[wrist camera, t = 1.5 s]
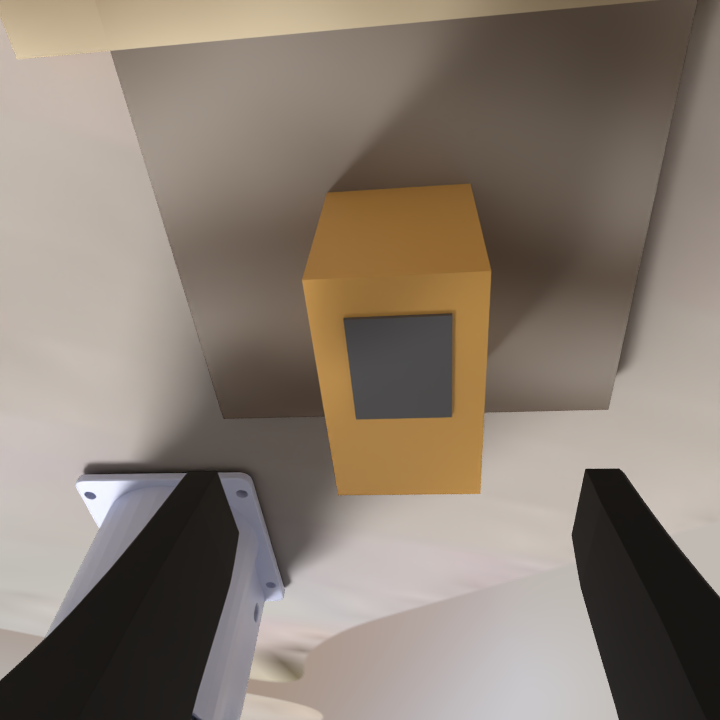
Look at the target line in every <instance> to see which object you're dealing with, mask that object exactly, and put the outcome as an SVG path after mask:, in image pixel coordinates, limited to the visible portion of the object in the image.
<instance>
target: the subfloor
mask: <svg viewBox="0 0 720 720" xmlns="http://www.w3.org/2000/svg"><path fill="white" fill-rule="evenodd" d="M697 1H698V0H0V17H1V20H2V22H3V25H4V27H5V30H6V32H7V35H8V38H9V40H10V43H11V45H12V48H13V50H14V53H15V55H16V58H17V59H27V58H38V57H49V56H60V55H70V54H81V53H92V52H103V51H111V55H112V58H113V61H114V64H115V68H116V71H117V74H118V77H119V81H120V84H121V87H122V90H123V94H124V97H125V100H126V103H127V107H128V110H129V113H130V116H131V120H132V123H133V126H134V129H135V133H136V136H137V139H138V142H139V146H140V149H141V152H142V155H143V159H144V162H145V165H146V168H147V172H148V175H149V178H150V181H151V185H152V188H153V191H154V194H155V198H156V201H157V204H158V207H159V211H160V214H161V217H162V220H163V224H164V227H165V230H166V233H167V237H168V240H169V243H170V246H171V250H172V253H173V256H174V259H175V263H176V266H177V269H178V272H179V276H180V279H181V282H182V285H183V289H184V292H185V295H186V298H187V302H188V305H189V308H190V311H191V314H192V318H193V321H194V324H195V327H196V331H197V334H198V337H199V340H200V344H201V347H202V350H203V353H204V357H205V360H206V363H207V366H208V370H209V373H210V376H211V379H212V383H213V386H214V389H215V392H216V396H217V399H218V402H219V405H220V409H221V412H222V415H223V418H224V419H234V418H276V417H318V416H325V414H324V408H323V402H322V396H321V390H320V384H319V378H318V372H317V366H316V360H315V354H314V348H313V343H312V337H311V331H310V325H309V319H308V313H307V307H306V301H305V295H304V289H303V283H302V278H303V275H304V271H305V268H306V264H307V261H308V257H309V254H310V250H311V247H312V243H313V240H314V236H315V233H316V229H317V226H318V222H319V219H320V215H321V212H322V208H323V205H324V201H325V198H326V194H327V193H328V192H344V191H360V190H376V189H391V188H407V187H423V186H438V185H454V184H471V188H472V192H473V196H474V201H475V205H476V209H477V213H478V217H479V221H480V226H481V230H482V234H483V238H484V242H485V246H486V251H487V255H488V259H489V263H490V267H491V288H490V308H489V328H488V348H487V368H486V388H485V408H484V413H485V412H526V411H568V410H608V409H609V405H610V400H611V395H612V391H613V386H614V382H615V377H616V373H617V368H618V363H619V359H620V354H621V350H622V345H623V340H624V336H625V331H626V327H627V322H628V318H629V313H630V308H631V304H632V299H633V295H634V290H635V286H636V281H637V276H638V272H639V267H640V263H641V258H642V253H643V249H644V244H645V240H646V235H647V231H648V226H649V221H650V217H651V212H652V208H653V203H654V198H655V194H656V189H657V185H658V180H659V176H660V171H661V166H662V162H663V157H664V153H665V148H666V143H667V139H668V134H669V130H670V125H671V121H672V116H673V111H674V107H675V102H676V98H677V93H678V88H679V84H680V79H681V75H682V70H683V66H684V61H685V56H686V52H687V47H688V43H689V38H690V33H691V29H692V24H693V20H694V15H695V11H696V6H697Z"/></svg>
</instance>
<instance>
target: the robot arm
mask: <svg viewBox="0 0 720 720" xmlns="http://www.w3.org/2000/svg"><path fill="white" fill-rule="evenodd" d="M75 485H76V488H77V490H78V492H79V493H80V495H81V497H82V499H83V501H84V502H85V504H86V506H87V508H88V509H89V511H90V513H91V515H92V516H93V518H94V520H95V522H96V524H97V525H98V527H99V530H98V532H97V534H96V536H95V538H94V540H93V542H92V544H91V546H90V548H89V550H88V552H87V554H86V556H85V558H84V560H83V562H82V564H81V566H80V568H79V570H78V572H77V574H76V576H75V578H74V580H73V582H72V584H71V586H70V588H69V590H68V592H67V594H66V596H65V598H64V600H63V602H62V604H61V606H60V608H59V610H58V612H57V614H56V616H55V618H54V620H53V622H52V624H51V626H50V628H49V630H48V632H47V634H46V636H45V638H44V640H43V641H42V642H41V643H40V644H39V645H38V646H37V647H36V648H35V649H34V650H33V651H32V652H31V653H30V654H29V655H28V656H27V657H26V658H24V659H23V660H22V661H21V662H20V663H19V664H18V665H17V666H16V667H15V668H14V669H13V670H11V671H10V672H9V673H8V674H7V675H6V676H5V677H4V678H3V679H1V680H0V720H239V719H240V716H241V713H242V709H243V704H244V699H245V694H246V689H247V684H248V680H249V675H250V670H251V665H252V660H253V655H254V650H255V646H256V641H257V636H258V631H259V626H260V621H261V616H262V612H263V607H264V602H265V601H279V600H281V599H283V598H284V592H285V589H284V586H283V583H282V579H281V576H280V572H279V569H278V566H277V562H276V559H275V555H274V552H273V549H272V545H271V542H270V538H269V535H268V531H267V528H266V525H265V521H264V518H263V514H262V511H261V508H260V504H259V501H258V497H257V494H256V491H255V487H254V484H253V480H252V478H251V477H250V476H249V475H247V474H245V473H241V472H226V473H218V472H217V471H193V472H188V473H155V474H86V475H81V476H80V477H79V478H78V480H77V482H76V484H75ZM242 490H244V491H242ZM572 540H573V546H574V552H575V558H576V564H577V570H578V575H579V580H580V586H581V590H582V594H583V597H584V601H585V604H586V608H587V611H588V615H589V618H590V622H591V625H592V628H593V631H594V635H595V639H596V642H597V645H598V649H599V652H600V656H601V659H602V662H603V666H604V669H605V673H606V676H607V679H608V683H609V686H610V690H611V693H612V696H613V700H614V703H615V707H616V710H617V714H618V718H619V720H720V597H719V596H718V594H717V593H716V592H715V591H714V590H713V589H712V587H711V586H710V585H709V584H708V583H707V582H706V580H705V579H704V578H703V577H702V576H701V574H700V573H699V572H698V571H697V569H696V568H695V567H694V566H693V564H692V563H691V562H690V561H689V559H688V558H687V557H686V556H685V555H684V553H683V552H682V551H681V550H680V548H679V547H678V546H677V545H676V543H675V542H674V541H673V540H672V538H671V537H670V536H669V534H668V533H667V532H666V530H665V529H664V528H663V526H662V525H661V524H660V522H659V521H658V520H657V518H656V517H655V516H654V514H653V513H652V512H651V510H650V509H649V508H648V506H647V505H646V503H645V502H644V501H643V499H642V498H641V496H640V495H639V494H638V492H637V491H636V489H635V488H634V487H633V485H632V484H631V482H630V481H629V479H628V478H627V476H626V475H625V474H624V472H622V471H621V470H620V469H585V473H584V478H583V483H582V488H581V493H580V497H579V502H578V507H577V512H576V517H575V522H574V526H573V531H572Z"/></svg>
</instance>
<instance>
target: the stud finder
mask: <svg viewBox="0 0 720 720" xmlns="http://www.w3.org/2000/svg"><path fill="white" fill-rule="evenodd" d="M302 283H303V289H304V295H305V301H306V307H307V313H308V319H309V325H310V331H311V337H312V343H313V348H314V354H315V360H316V366H317V372H318V378H319V384H320V390H321V396H322V402H323V408H324V414H325V420H326V426H327V432H328V438H329V444H330V450H331V455H332V461H333V467H334V473H335V479H336V485H337V491H338V495H409V494H480V488H481V468H482V448H483V428H484V408H485V388H486V368H487V348H488V328H489V308H490V288H491V267H490V263H489V259H488V255H487V251H486V246H485V242H484V238H483V234H482V230H481V226H480V221H479V217H478V213H477V209H476V205H475V201H474V196H473V192H472V188H471V184H454V185H438V186H423V187H407V188H391V189H376V190H360V191H344V192H328V193H327V194H326V198H325V201H324V205H323V208H322V212H321V215H320V219H319V222H318V226H317V229H316V233H315V236H314V240H313V243H312V247H311V250H310V254H309V257H308V261H307V264H306V268H305V271H304V275H303V278H302Z"/></svg>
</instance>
